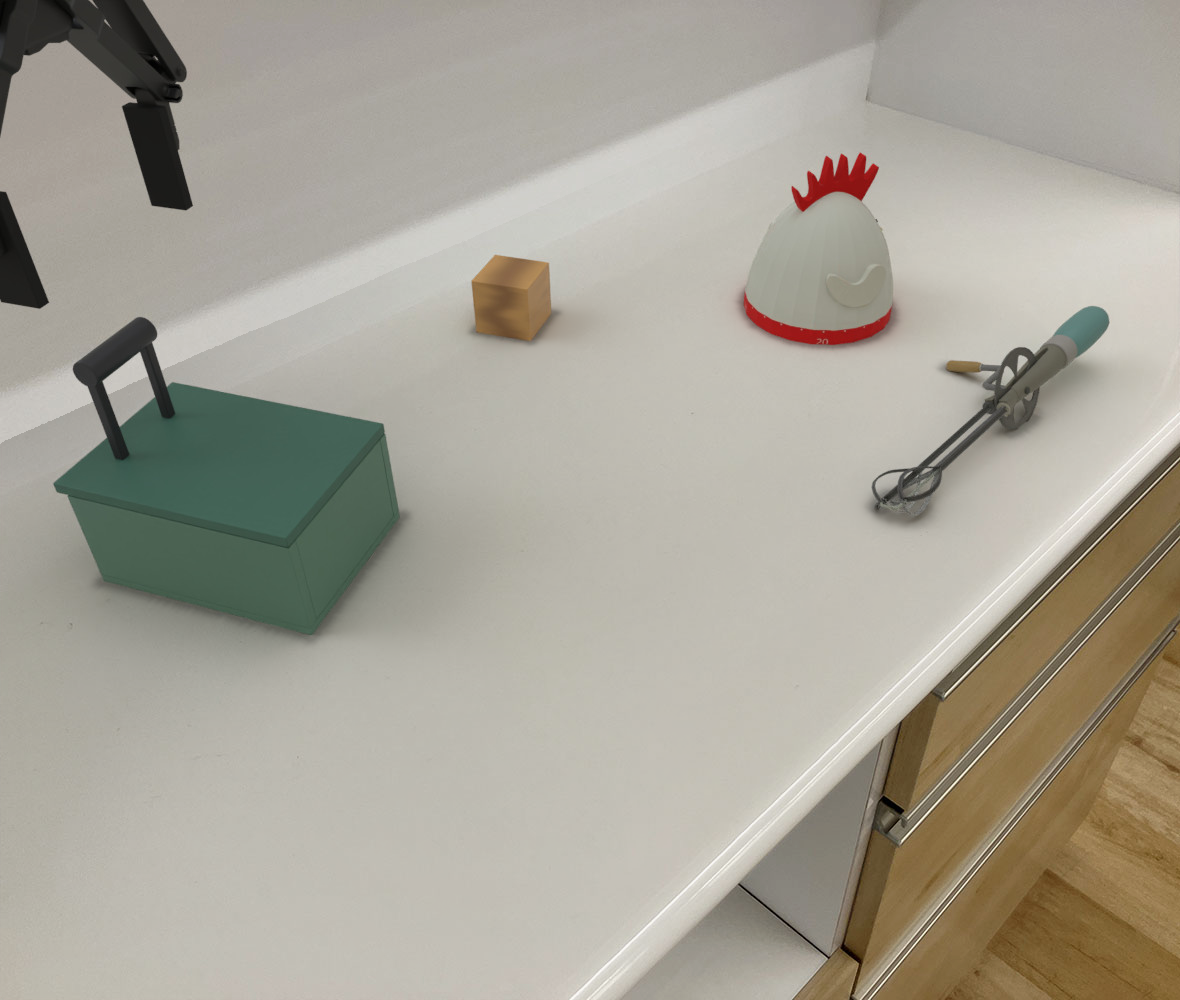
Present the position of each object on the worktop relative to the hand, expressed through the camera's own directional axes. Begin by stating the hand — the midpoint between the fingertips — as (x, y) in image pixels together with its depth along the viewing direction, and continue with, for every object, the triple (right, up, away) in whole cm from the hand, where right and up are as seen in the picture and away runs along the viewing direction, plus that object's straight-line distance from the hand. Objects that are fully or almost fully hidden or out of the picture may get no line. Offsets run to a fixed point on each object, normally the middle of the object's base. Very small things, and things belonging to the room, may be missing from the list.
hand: (104, 251), depth 64 cm
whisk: (+61, -9, +23) cm, 65 cm away
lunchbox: (+6, -19, +11) cm, 23 cm away
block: (+23, +2, +36) cm, 42 cm away
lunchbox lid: (+5, -13, +6) cm, 15 cm away
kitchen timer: (+52, +3, +37) cm, 63 cm away
